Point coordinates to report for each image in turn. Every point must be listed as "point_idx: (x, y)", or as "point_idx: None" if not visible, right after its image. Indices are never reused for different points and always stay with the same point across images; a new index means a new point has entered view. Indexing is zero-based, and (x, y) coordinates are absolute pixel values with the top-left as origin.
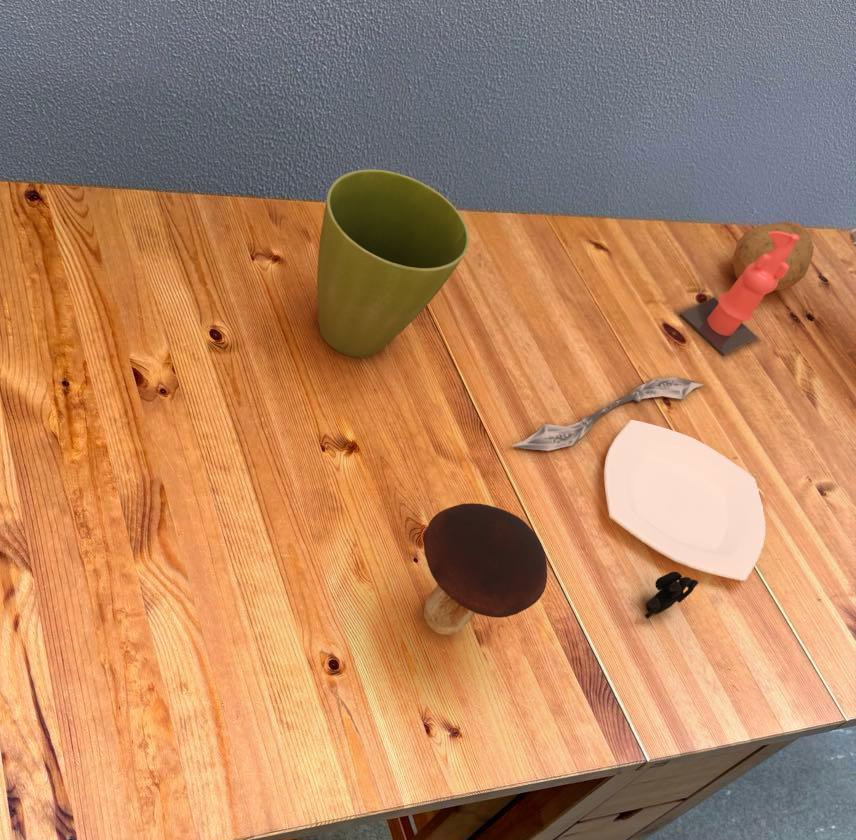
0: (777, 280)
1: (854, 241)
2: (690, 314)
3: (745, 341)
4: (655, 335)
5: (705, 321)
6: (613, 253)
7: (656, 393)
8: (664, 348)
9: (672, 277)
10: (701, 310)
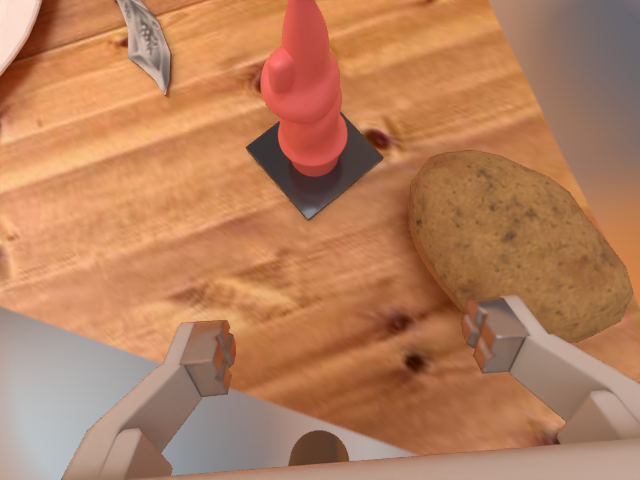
0: (282, 99)
1: (468, 311)
2: None
3: (288, 193)
4: (259, 47)
5: None
6: (426, 10)
7: (127, 18)
8: (235, 57)
9: (411, 97)
10: None
